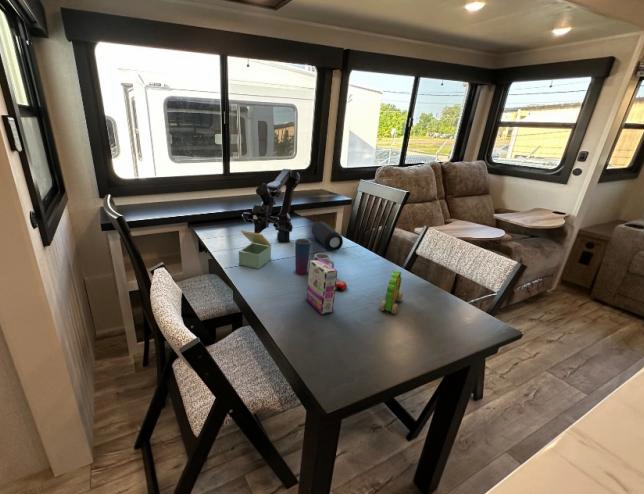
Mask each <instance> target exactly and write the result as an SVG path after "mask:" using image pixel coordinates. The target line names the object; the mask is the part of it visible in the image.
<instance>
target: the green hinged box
mask: <svg viewBox="0 0 644 494" xmlns="http://www.w3.org/2000/svg"><path fill="white" fill-rule="evenodd" d="M271 259H272V245H271V246H267V245H262V244H256V243H252V242H250V243H249V244H248V245H246V246H245V247H243V248H241V249H240V250H238V265H240V266H243V267H248V268H252V269H256V270H259V269H261V268H262V267H263V266H265V265H266V264H267V263H268V262H270V261H271Z"/></svg>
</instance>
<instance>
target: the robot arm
mask: <svg viewBox="0 0 644 494" xmlns="http://www.w3.org/2000/svg"><path fill="white" fill-rule="evenodd" d="M300 181H301V175H300V173H299V172H297V171H294V170H292V169H290V168H282V169H281V172H280V173H279V175H278V176H276V178H275V179H274V181H271V182H269V183H262V184H260V185H259V186H257V188H255V194H256V195H257V197H258V199H259V200H260V202H261V203H260V204H259V205H258V204H253V205H252V210H251V211H252V213H254V215H253V214H252V213H250V212H247V211H246V212H245V211H244V212H243V213H242V214H241V218H242V219H243V220H244V222H245V223H247V224H253V225H254V226H253V228H254V229H253V230H254V231H253V233H258V234H261V233H262V232H263V231H264V230H265V229H268V228H269V227H270V226H269V225H270V224H272V226H273V227H274V230H275V231H276V240H277V242H278V243H290V242H291V240H290V234H291V232H293V228H294V226H293V223H292V222H291V221H292V220H291V216H290V211H291V207H292V201H293V196H294V192H295V189H296V188H297V187H298V186H299V183H300ZM284 185H285V190H284V195H283V199H282V204H281V209H280V212H279V213H278V214H276V216H271V215H272V213H273V212H272V210H273V209H274V206H275V205H276V200H275V198H279V197H280V196H281V194H282V188H283V187H284Z"/></svg>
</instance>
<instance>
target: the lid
mask: <svg viewBox="0 0 644 494" xmlns="http://www.w3.org/2000/svg"><path fill="white" fill-rule="evenodd" d="M240 233H241V234H242V235H243V236H244V238H246V239H247V240H248V241H249V242H250V243H256V244H261V245H266V246H271V247H272V244H271V243H270V242H269V240H268V239H267V238H266V237H265V236H264V234H262V233H259V234H258V233H254V231H253V232H252V231H247V230H240Z"/></svg>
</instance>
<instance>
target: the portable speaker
mask: <svg viewBox="0 0 644 494" xmlns="http://www.w3.org/2000/svg"><path fill="white" fill-rule="evenodd" d="M311 234H312V235H313V237H314V238H315V239H317V240H318V241H319V242H320V243H321V244H322V245H323V246H324V247H325V249H327V250H329V251H338V250H340V249H342V247H343V244H344V240H343V239H344V238H343V236H342V235H341V234H340V233H339V232H338V231H336V230H335V229H334V228H332V227H331V226H330V225H329V224H327V223H326V222H325V221H316V222H315V223H313V224H312V226H311Z"/></svg>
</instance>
